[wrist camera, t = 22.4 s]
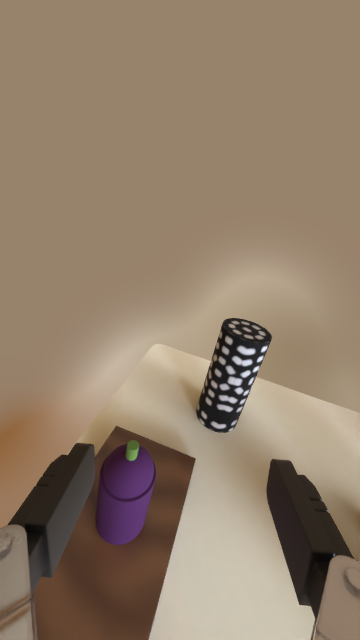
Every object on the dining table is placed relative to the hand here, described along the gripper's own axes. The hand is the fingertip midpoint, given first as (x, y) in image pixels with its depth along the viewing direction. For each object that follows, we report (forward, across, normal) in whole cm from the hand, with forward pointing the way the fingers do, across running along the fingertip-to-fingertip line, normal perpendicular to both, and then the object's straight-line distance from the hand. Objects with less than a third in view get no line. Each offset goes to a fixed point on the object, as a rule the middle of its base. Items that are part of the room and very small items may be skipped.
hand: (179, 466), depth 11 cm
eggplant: (+14, +7, +22) cm, 27 cm away
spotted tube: (+35, -6, +21) cm, 42 cm away
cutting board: (+15, +7, +23) cm, 28 cm away
